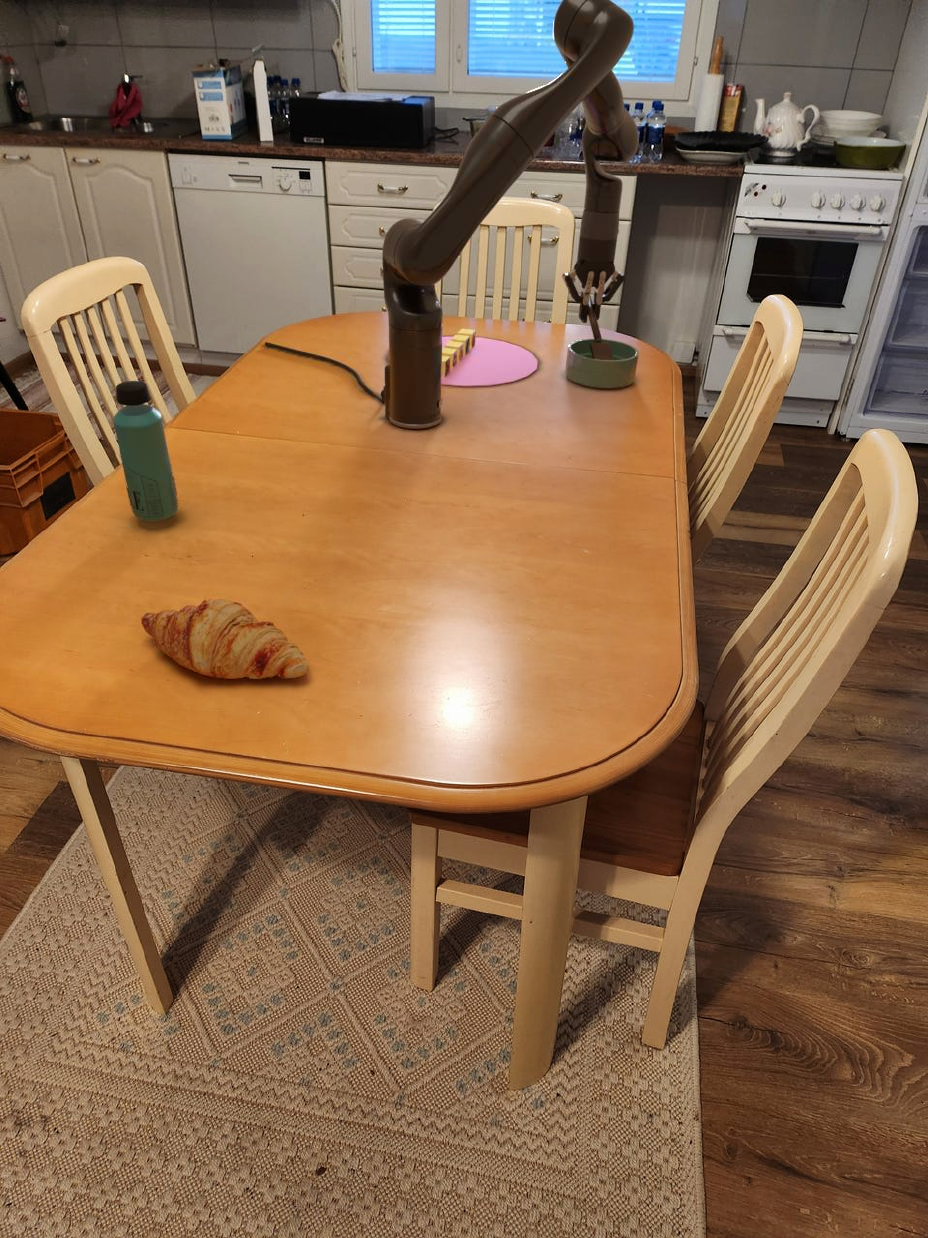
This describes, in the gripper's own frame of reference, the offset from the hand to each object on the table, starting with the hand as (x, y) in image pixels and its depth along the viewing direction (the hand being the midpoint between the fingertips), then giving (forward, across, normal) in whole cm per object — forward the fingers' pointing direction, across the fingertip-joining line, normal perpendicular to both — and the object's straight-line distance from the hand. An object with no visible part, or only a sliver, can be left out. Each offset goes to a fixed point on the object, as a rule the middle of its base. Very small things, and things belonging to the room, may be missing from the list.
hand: (588, 321), depth 183 cm
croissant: (+9, +72, +97) cm, 121 cm away
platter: (+9, +26, -2) cm, 28 cm away
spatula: (+1, 0, +6) cm, 6 cm away
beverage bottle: (+9, +83, +63) cm, 104 cm away
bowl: (+8, 0, +11) cm, 14 cm away
